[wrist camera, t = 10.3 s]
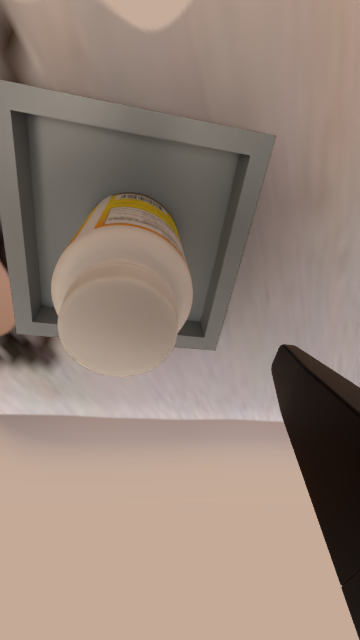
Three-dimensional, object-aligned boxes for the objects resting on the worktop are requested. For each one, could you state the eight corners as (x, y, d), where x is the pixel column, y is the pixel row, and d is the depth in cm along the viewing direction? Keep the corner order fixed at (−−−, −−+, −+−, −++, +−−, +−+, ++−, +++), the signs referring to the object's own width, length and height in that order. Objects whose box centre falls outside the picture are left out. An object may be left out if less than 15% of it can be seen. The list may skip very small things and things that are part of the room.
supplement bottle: (112, 291, 20) (84, 411, 12) (68, 211, 18) (-13, 292, 9) (190, 261, 20) (221, 366, 11) (158, 173, 17) (165, 222, 8)
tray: (260, 134, 17) (276, 135, 15) (209, 330, 23) (215, 350, 21) (5, 83, 15) (-19, 75, 13) (30, 313, 21) (16, 333, 19)
